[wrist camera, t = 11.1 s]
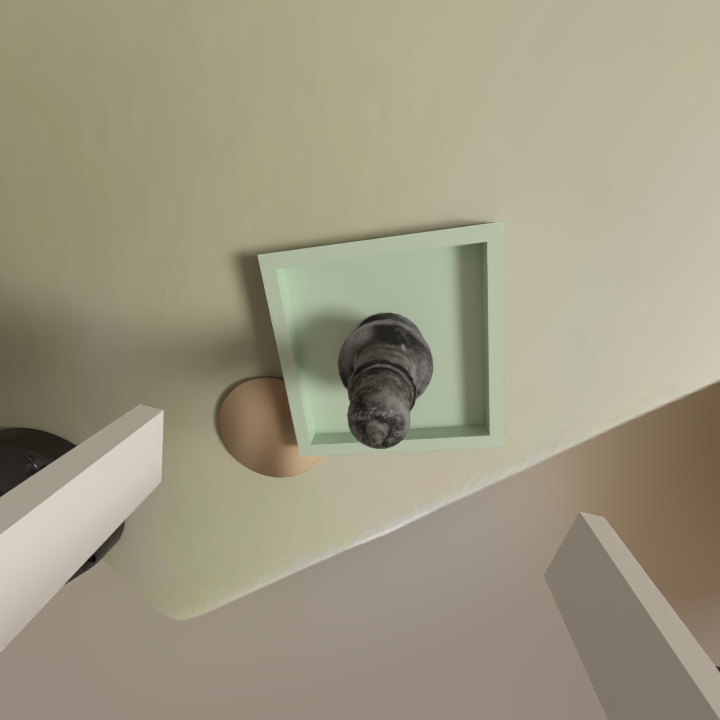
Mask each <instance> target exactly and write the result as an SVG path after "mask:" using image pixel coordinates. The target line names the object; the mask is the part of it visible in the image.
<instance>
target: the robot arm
mask: <svg viewBox="0 0 720 720" xmlns="http://www.w3.org/2000/svg"><path fill="white" fill-rule="evenodd" d="M163 413H164V410H161V409H157V408H153V407H149V406H145V405H140V404H139V405H138V406H136V407H135V408H133V409H132V410H130V411H129V412H127V413H126V414H124V415H123V416H121V417H120V418H118V419H117V420H115V421H114V422H112V423H111V424H109V425H108V426H106V427H105V428H103V429H102V430H100V431H99V432H97V433H96V434H94V435H93V436H91V437H90V438H88V439H87V440H85V441H84V442H82V443H81V444H79V445H78V446H74V445H72V444H71V443H69V442H67V441H65V440H63V439H61V438H59V437H56V436H54V435H51V434H48V433H45V432H41V431H36V430H29V429H13V430H7V431H3V432H0V652H1V651H2V650H3V649H4V648H5V647H6V646H7V645H8V644H9V642H10V641H11V640H12V639H13V638H14V637H15V636H16V635H17V634H18V633H19V632H20V631H21V630H22V629H23V628H24V626H25V625H26V624H27V623H28V622H29V621H30V620H31V619H32V618H33V617H34V616H35V615H36V614H37V613H38V612H39V611H40V609H42V607H43V606H44V605H45V604H46V603H47V602H48V601H49V600H50V599H51V598H52V597H53V596H54V595H55V594H56V593H57V592H58V590H59V589H60V588H61V587H62V586H63V585H65V584H66V583H68V582H70V581H71V580H73V579H74V578H76V577H78V576H79V575H80V574H82V573H84V572H85V571H87V570H89V569H90V568H91V567H93V566H94V565H95V564H96V563H98V562H99V561H100V560H101V559H102V558H103V557H104V556H105V555H106V553H107V552H108V551H109V550H110V549H111V548H112V547H113V546H114V545H115V544H116V543H117V541H118V540H119V538H120V536H121V534H122V532H123V528H124V522H125V519H126V518H127V517H128V516H129V515H130V514H131V513H132V512H133V511H134V510H135V509H136V508H137V507H138V506H139V505H140V503H141V502H142V501H143V500H144V499H145V498H146V497H147V496H148V495H149V494H150V493H151V492H152V491H153V490H154V489H155V488H156V487H157V485H158V484H159V483H160V482H161V476H162V445H163ZM544 576H545V579H546V581H547V583H548V586H549V588H550V590H551V592H552V595H553V597H554V599H555V601H556V604H557V606H558V608H559V610H560V613H561V615H562V617H563V619H564V622H565V624H566V626H567V628H568V630H569V633H570V635H571V637H572V640H573V642H574V644H575V646H576V649H577V651H578V653H579V656H580V658H581V660H582V662H583V665H584V667H585V669H586V671H587V674H588V676H589V678H590V680H591V683H592V685H593V687H594V689H595V692H596V694H597V696H598V698H599V701H600V703H601V705H602V707H603V710H604V712H605V714H606V717H607V719H608V720H720V667H717V666H715V665H714V664H713V663H712V661H711V660H710V659H709V657H708V656H707V654H706V653H705V652H704V651H703V649H702V648H701V646H700V645H699V644H698V643H697V641H696V640H695V638H694V637H693V636H692V634H691V633H690V632H689V630H688V629H687V628H686V626H685V625H684V624H683V622H682V621H681V620H680V618H679V617H678V616H677V614H676V613H675V612H674V611H673V609H672V608H671V606H670V605H669V604H668V602H667V601H666V600H665V598H664V597H663V596H662V594H661V593H660V592H659V590H658V589H657V588H656V586H655V585H654V584H653V582H652V581H651V579H650V578H649V577H648V576H647V574H646V573H645V571H644V570H643V569H642V567H641V566H640V565H639V563H638V562H637V561H636V559H635V558H634V557H633V555H632V554H631V553H630V551H629V550H628V549H627V547H626V546H625V545H624V543H623V542H622V541H621V539H620V538H619V537H618V535H617V534H616V533H615V532H614V530H613V529H612V527H611V526H610V525H609V523H608V522H607V521H606V519H605V518H604V517H600V516H596V515H592V514H588V513H584V512H579V514H578V515H577V517H576V519H575V521H574V522H573V524H572V526H571V528H570V530H569V531H568V533H567V535H566V537H565V539H564V540H563V542H562V544H561V546H560V548H559V549H558V551H557V553H556V555H555V557H554V558H553V560H552V562H551V564H550V565H549V567H548V569H547V571H546V573H545V575H544Z"/></svg>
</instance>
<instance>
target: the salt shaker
mask: <svg viewBox="0 0 720 720" xmlns="http://www.w3.org/2000/svg"><path fill="white" fill-rule="evenodd" d="M338 369H339V375H340V378H341V380H342V383H343V385H344V387H345V388H346V389H347V391H348V398H349V401H350V405H349V408H348V413H347V418H348V426H349V428H350V431H351V433H352V434H353V436H354V437H355V438H356V439H357V440H358V441H359V442H360V443H362V444H363V445H366V446H368V447H370V448H375V449H386V448H390V447H393V446H395V445H397V444H399V443H400V442H401V441H402V440H403V439H404V438H405V436H406V434H407V432H408V430H409V427H410V422H411V421H410V412H411V410H412V408H413V407H414V405H415V401H416V399H417V398H419V397H420V396H421V395H422V394H423V393H424V392H425V390H426V388H427V387H428V385H429V383H430V381H431V377H432V374H433V357H432V354H431V350H430V347H429V345H428V344H427V342H426V341H425V339H424V338H423V336H422V334H421V332H420V330H419V329H418V327H417V326H416V325H415V324H414V323H413V322H412V321H411V320H409V319H408V318H406V317H404V316H402V315H399V314H394V313H379V314H376V315H373V316H370V317H369V318H367V319H366V320H364V321H363V322H362V323H361V324H360V325H359V326H358V327H357V328H356V330H354V331H353V332H352V333H351V334H350V335H349V336H348V337H347V339H346V340H345V341H344V343H343V346H342V348H341V350H340V353H339V359H338Z"/></svg>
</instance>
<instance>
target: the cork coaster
mask: <svg viewBox="0 0 720 720" xmlns="http://www.w3.org/2000/svg"><path fill="white" fill-rule="evenodd" d="M219 429H220V433H221V436H222V439H223V441H224V443H225V445H226V447H227V448H228V450H229V451H230V453H231V454H232V455H233V456H234V457H235V458H236V459H237V460H238V461H239V462H240V463H242V464H243V465H244V466H246V467H247V468H249V469H251V470H253V471H255V472H257V473H260V474H263V475H266V476H271V477H291V476H296V475H299V474H301V473H304V472H306V471H308V470H309V469H310V468H312V467H313V466H314V465H315V464H316V463H317V462H318V461H319V460H320V458H321V457H322V456H309V457H300V452H299V448H298V443H297V438H296V434H295V429H294V424H293V420H292V415H291V410H290V405H289V401H288V396H287V391H286V387H285V382H284V379H282V378H277V377H259V378H254V379H250V380H248V381H246V382H243V383H242V384H240V385H239V386H237V387H236V388H235V389H234V390H233V391H232V392H231V393H230V394H229V395H228V396H227V397H226V399H225V400H224V402H223V404H222V407H221V409H220V414H219Z"/></svg>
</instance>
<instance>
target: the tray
mask: <svg viewBox="0 0 720 720" xmlns="http://www.w3.org/2000/svg"><path fill="white" fill-rule="evenodd" d="M258 260H259V265H260V269H261V274H262V279H263V283H264V288H265V293H266V298H267V302H268V307H269V312H270V316H271V321H272V326H273V330H274V335H275V340H276V344H277V349H278V354H279V359H280V363H281V368H282V373H283V377H284V382H285V387H286V391H287V396H288V401H289V405H290V410H291V415H292V420H293V424H294V429H295V434H296V438H297V443H298V448H299V452H300V457H309V456H330V455H351V454H371V453H392V452H413V451H434V450H454V449H475V448H496V447H505V221H502V222H494V223H487V224H480V225H472V226H465V227H458V228H450V229H443V230H436V231H428V232H421V233H413V234H406V235H399V236H391V237H384V238H377V239H369V240H362V241H355V242H347V243H340V244H333V245H325V246H318V247H311V248H303V249H296V250H289V251H281V252H274V253H267V254H260V255H258ZM379 313H394V314H399V315H402V316H404V317H406V318H408V319H409V320H411V321H412V322H413V323H414V324H415V325H416V326H417V327H418V329H419V330H420V332H421V334H422V336H423V338H424V339H425V341H426V342H427V344H428V345H429V347H430V350H431V354H432V357H433V374H432V377H431V381H430V383H429V385H428V387H427V388H426V390H425V392H424V393H423V394H422V395H421V396H420V397H419V398H417V399H416V401H415V405H414V407H413V408H412V410H411V412H410V421H411V422H410V427H409V430H408V432H407V434H406V436H405V438H404V439H403V440H402V441H401V442H400V443H399V444H397V445H395V446H393V447H390V448H386V449H375V448H370V447H368V446H366V445H363V444H362V443H360V442H359V441H358V440H357V439H356V438H355V437H354V436H353V434H352V433H351V431H350V428H349V426H348V418H347V413H348V408H349V405H350V401H349V398H348V391H347V389H346V388H345V387H344V385H343V383H342V380H341V378H340V375H339V369H338V359H339V353H340V350H341V348H342V346H343V343H344V341H345V340H346V339H347V337H348V336H349V335H350V334H351V333H352V332H353V331H354V330H356V328H357V327H358V326H359V325H360V324H361V323H362V322H363V321H364V320H366V319H367V318H369V317H370V316H373V315H376V314H379Z"/></svg>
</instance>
